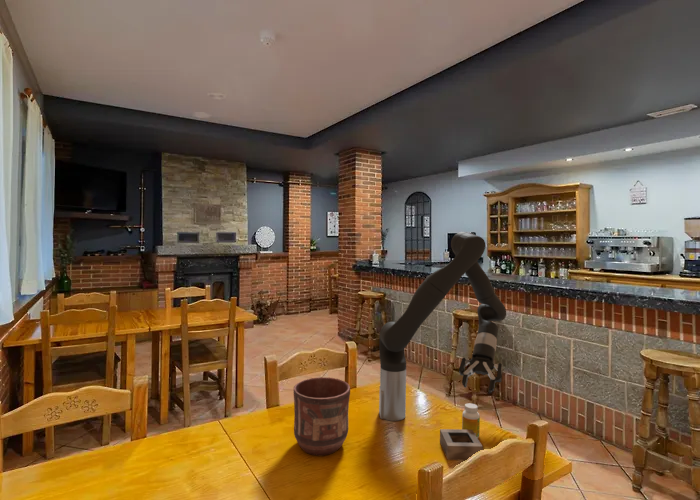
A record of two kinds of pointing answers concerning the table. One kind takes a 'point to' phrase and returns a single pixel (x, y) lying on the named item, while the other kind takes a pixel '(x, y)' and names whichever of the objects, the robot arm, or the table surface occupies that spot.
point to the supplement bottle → (471, 418)
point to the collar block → (459, 443)
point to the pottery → (321, 414)
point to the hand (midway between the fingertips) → (477, 388)
